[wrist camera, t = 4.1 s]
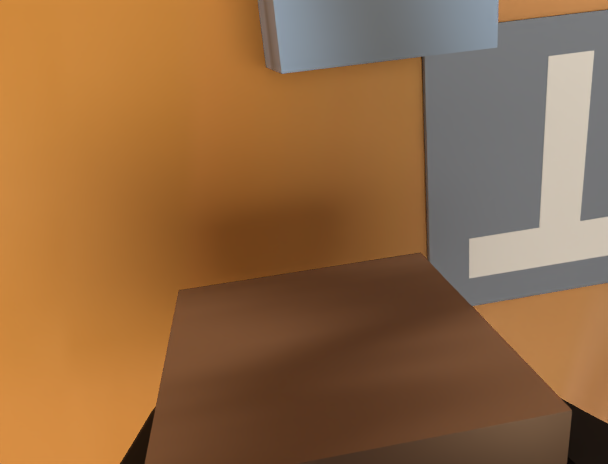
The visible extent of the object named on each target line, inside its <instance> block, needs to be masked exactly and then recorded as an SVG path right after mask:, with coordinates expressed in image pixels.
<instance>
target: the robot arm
mask: <svg viewBox="0 0 608 464" xmlns="http://www.w3.org/2000/svg"><path fill="white" fill-rule="evenodd" d="M562 400H563V399H562ZM563 401H564V402H565V403H566V404H567V405H568V407H569V408H570V409H571V410H572V417H571V427H570V437H569V447H568V458H567V464H608V424H607V423H605V422H603V421H602V420H600V419H598V418H596V417H594V416H592V415H590V414H588V413H586V412H585V411H583V410H581V409H579V408H577V407H575V406H574V405H572V404H570V403H568V402H566V401H565V400H563ZM155 408H156V407H155ZM155 408H154V409H153V411H152V412H151V414H150V415H149V417H148V419H147V420H146V422H145V424H144V425H143V427H142V429H141V430H140V432H139V434H138V435H137V437H136V439H135V440H134V442H133V444H132V445H131V447H130V448H129V450H128V452H127V453H126V455H125V456H124V458H123V460H122V461H121V463H120V464H145V459H146V454H147V449H148V444H149V439H150V434H151V429H152V424H153V419H154V414H155Z"/></svg>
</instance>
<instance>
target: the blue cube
mask: <svg viewBox="0 0 608 464" xmlns="http://www.w3.org/2000/svg"><path fill="white" fill-rule="evenodd" d="M258 8H259V16H260V24H261V32H262V39H263V47H264V55H265V63H266V67H267V68H269V69H272V70H274V71H276V72H279V73H281V74H283V73H291V72H300V71H308V70H316V69H324V68H333V67H341V66H349V65H357V64H366V63H374V62H382V61H390V60H398V59H407V58H415V57H423V56H431V55H440V54H448V53H456V52H464V51H473V50H481V49H489V48H497V44H498V0H258Z"/></svg>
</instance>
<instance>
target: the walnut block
mask: <svg viewBox="0 0 608 464" xmlns="http://www.w3.org/2000/svg"><path fill="white" fill-rule="evenodd" d="M571 417H572V410H571V409H570V408H569V407H568V405H567V404H566V403H565V402H564V401H563V400H562V399H561V398H560V397H559V396H558V395H557V394H556V393H555V392H554V391H553V390H552V389H551V388H550V387H549V386H548V385H547V384H546V383H545V382H544V381H543V380H542V378H541V377H540V376H539V375H538V374H537V373H536V372H535V371H534V370H533V369H532V368H531V367H530V366H529V365H528V364H527V363H526V362H525V361H524V360H523V359H522V358H521V357H520V356H519V355H518V354H517V352H516V351H515V350H514V349H513V348H512V347H511V346H510V345H509V344H508V343H507V342H506V341H505V340H504V339H503V338H502V337H501V336H500V335H499V334H498V333H497V332H496V331H495V330H494V329H493V328H492V326H491V325H490V324H489V323H488V322H487V321H486V320H485V319H484V318H483V317H482V316H481V315H480V314H479V313H478V312H477V311H476V310H475V309H474V308H473V307H472V306H471V305H470V304H469V303H468V302H467V300H466V299H465V298H464V297H463V296H462V295H461V294H460V293H459V292H458V291H457V290H456V289H455V288H454V287H453V286H452V285H451V284H450V283H449V282H448V281H447V280H446V279H445V278H444V277H443V276H442V275H441V273H440V272H439V271H438V270H437V269H436V268H435V267H434V266H433V265H432V264H431V263H430V262H429V261H428V260H427V259H426V258H425V257H424V256H423V255H422V254H421V253H415V254H408V255H402V256H396V257H389V258H383V259H376V260H370V261H364V262H357V263H351V264H344V265H338V266H331V267H325V268H319V269H312V270H306V271H299V272H293V273H287V274H280V275H274V276H267V277H261V278H255V279H248V280H242V281H235V282H229V283H223V284H216V285H210V286H203V287H197V288H190V289H184V290H179V292H178V297H177V302H176V307H175V312H174V317H173V322H172V327H171V332H170V337H169V342H168V347H167V353H166V358H165V363H164V368H163V373H162V378H161V383H160V388H159V393H158V398H157V403H156V408H155V414H154V419H153V424H152V429H151V434H150V439H149V444H148V449H147V454H146V459H145V464H567V458H568V447H569V437H570V427H571Z"/></svg>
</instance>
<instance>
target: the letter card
mask: <svg viewBox="0 0 608 464" xmlns="http://www.w3.org/2000/svg"><path fill="white" fill-rule="evenodd" d="M422 62H423V98H424V135H425V172H426V208H427V245H428V261H429V262H430V263H431V264H432V265H433V266H434V267H435V268H436V269H437V270H438V271H439V272H440V273H441V275H442V276H443V277H444V278H445V279H446V280H447V281H448V282H449V283H450V284H451V285H452V286H453V287H454V288H455V289H456V290H457V291H458V292H459V293H460V294H461V295H462V296H463V297H464V298H465V299H466V300H467V302H468V303H469V304H470V305H471V306H475V305H481V304H487V303H493V302H498V301H504V300H510V299H516V298H522V297H527V296H533V295H539V294H545V293H551V292H557V291H562V290H568V289H574V288H580V287H586V286H591V285H597V284H603V283H608V10H602V11H593V12H585V13H576V14H568V15H560V16H551V17H543V18H534V19H526V20H517V21H509V22H500V23H498V44H497V48H489V49H481V50H473V51H464V52H456V53H448V54H440V55H431V56H423V57H422Z"/></svg>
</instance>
